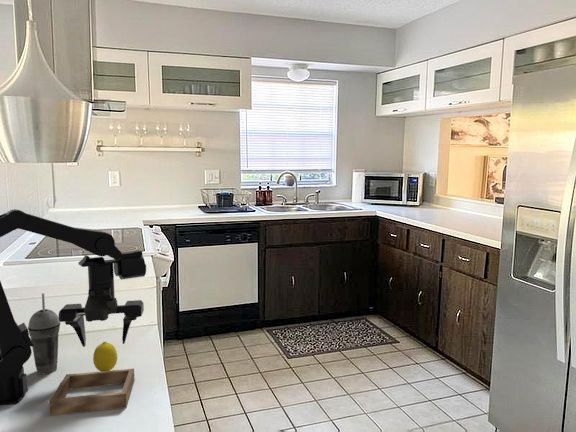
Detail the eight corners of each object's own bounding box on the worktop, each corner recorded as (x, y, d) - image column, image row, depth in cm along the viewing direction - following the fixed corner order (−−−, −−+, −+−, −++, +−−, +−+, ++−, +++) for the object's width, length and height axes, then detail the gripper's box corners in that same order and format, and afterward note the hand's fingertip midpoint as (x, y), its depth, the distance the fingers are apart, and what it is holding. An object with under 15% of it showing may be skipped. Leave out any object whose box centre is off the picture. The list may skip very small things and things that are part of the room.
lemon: (94, 370, 116) (92, 339, 116) (117, 367, 118) (116, 336, 118) (93, 379, 111) (91, 347, 111) (118, 375, 113) (116, 344, 112)
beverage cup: (60, 362, 122) (56, 287, 120) (65, 371, 116) (61, 293, 114) (28, 369, 118) (23, 291, 116) (32, 379, 112) (27, 298, 110)
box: (49, 415, 95) (48, 401, 95) (67, 386, 108) (66, 374, 107) (126, 407, 98) (125, 393, 97) (134, 380, 110) (134, 368, 110)
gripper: (49, 292, 103) (53, 360, 104) (137, 288, 107) (139, 354, 108) (63, 281, 114) (66, 343, 115) (142, 277, 117) (145, 337, 119)
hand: (104, 344), depth 114 cm, fingers open, 9 cm apart
